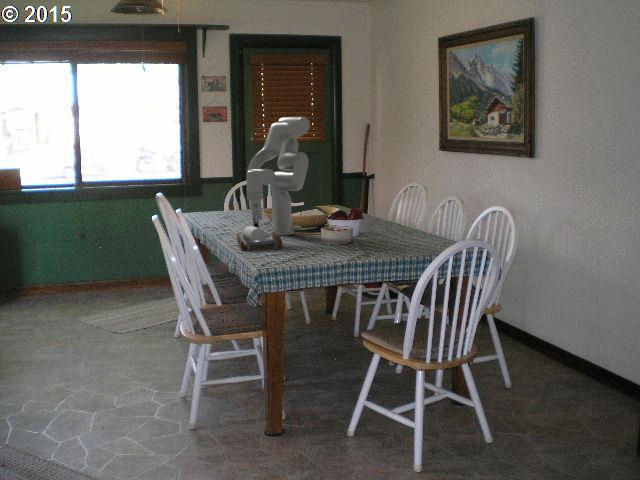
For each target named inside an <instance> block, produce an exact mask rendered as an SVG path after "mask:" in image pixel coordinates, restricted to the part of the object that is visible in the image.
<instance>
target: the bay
mask: <svg viewBox="0 0 640 480" xmlns="http://www.w3.org/2000/svg"><path fill="white" fill-rule="evenodd" d="M271 231H272V235H271V237H272V239H267V240H266V239H265V240H262V241H247V242H246V244H245V240H244V239H243V236H242V235H241V234H240V232H236V242H237V244H238V246H239V249H240V251H247V252H251V251H259V250H260V251H261V250H275V251H277V250H281V249H283V239H282V238H281V237H280V235H278V234H277V233H276V232H275V231H273V230H271Z"/></svg>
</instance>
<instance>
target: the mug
mask: <svg viewBox="0 0 640 480" xmlns="http://www.w3.org/2000/svg"><path fill="white" fill-rule="evenodd" d="M241 237H242V239H243V241H244V242H246V243H247V241H262V240H266V239H267V238H268V237H272V235H271V233H270V231H269V232H268V231H267V232H266V231H265V230H264V229H263V228H261V227H259V228H257V227H254V226H253V225H247V226H246V227H245V228H244V229H243V231H242V235H241Z"/></svg>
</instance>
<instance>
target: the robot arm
mask: <svg viewBox="0 0 640 480" xmlns="http://www.w3.org/2000/svg"><path fill="white" fill-rule="evenodd" d="M310 126H311V124H310V120H309V119H308V118H307V117H306V116H284V117H283V116H282V117H281V118H279V119H278V121H277V122H274V123H272V124H271V126H270V127H269V130H268V132H267V136H266V139H265V141H264V145H263V147H262V149H261V150H259V151H258V152H257V153H256V154H255V155H254V156H253V158H251V160H250V162H249V164H248V167H247V170H246V176H245V177H246V200H249V214H250V220H252V226H254V227H257V228H260V221H262V220H263V214H262V213H263V212H262V211H263V210H262V200H264V194H263V193H264V192H263V185H265V186H266V185H267V186H268V185H269V186H270V191H271V204H272V205H271V207H272V230H271V231H269V233H271V236H272V231H275V232H276V233H277V234H278V236H290V234H292V235H294V234H293V233H295V234H296V230H297V231H299V230H302V226H301V225H293V224H292V220H293V219H292V198H291V196H290V193H289V192H291V191H292V192H298V191H300V190H302V188H303V186H304V184H305V182H306V181H305V180H306V176H307V172H308V169H309V158H308V156H307V154H306V153H305V152H303V151H302V152H301V151H298V150H299V142H298V140H297V139H298V138H300V137H302V136H304V135H306V134H307V133H308V131H309V130H310ZM276 157H278V158H277V162H276V163H277V167H278V169H279V170H280V171H275V172H274V170H272V169H270V168H261V166H262V165H263V164H264V163H266V162H268V161H270V160H273V159H274V158H275V159H276Z"/></svg>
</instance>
